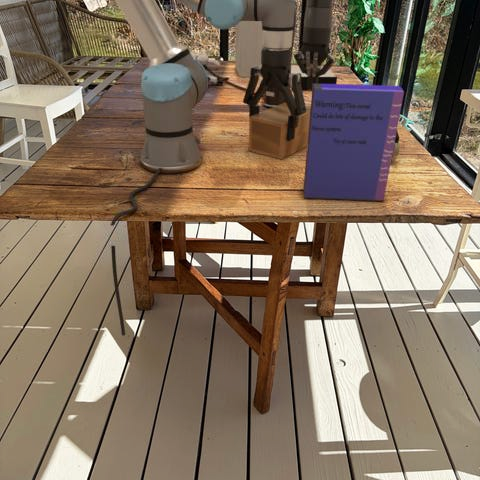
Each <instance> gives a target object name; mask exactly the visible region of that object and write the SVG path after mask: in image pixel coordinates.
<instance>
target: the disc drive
mask: <svg viewBox="0 0 480 480" xmlns="http://www.w3.org/2000/svg"><path fill="white" fill-rule="evenodd" d="M323 66H324V65H322V67H323ZM322 67H321V69H322ZM291 73H294V74H298V73H300V74H301V86H302V91H303V90H305V91H309V90H308V88H307V79H308V76H307V75H306V74H305V73H302V72H301V70H300V68H299V66H298V65H292V66H291ZM337 82H338V76H336V75H335V74H334V73H333V72H332V71H331V69H329V70H328V71H327V72H326V73H325V74H324V75H321V76H319V80H318V84H338V83H337ZM290 88H291V91H293V89H292V82H290Z"/></svg>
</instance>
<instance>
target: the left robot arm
mask: <svg viewBox="0 0 480 480" xmlns="http://www.w3.org/2000/svg"><path fill="white" fill-rule="evenodd" d="M114 1H115V2H116V4H117V6H118V7H119V9H120V11H121V13H122V14H123V16H124V18H125V20H126V22H127V23H128V25H129V27H130V28H131V31H132V32H133V34H134V36H135V37H136V39H137V40H138V42H139V44H140V45H141V47H142V50H143V51H144V52H145V54H146V56H147V58H148V59H149V66H148V67H147V68H146V69H145V70H143V72H142V74H141V77H140V78H141V79H140V80H141V83H140V91H141V95H142V97H141V98H142V106H143V116H144V125H145V126H144V127H145V138H144V142H143V146H142V150H141V154H140V162H141V166H142V168H144V169H145V170H146V171H149V172H151V173H153V175H152V177H151V179H150V180H149V181H148V182H147V183H146V184H145V185H143V186H140V187H138V188H136V189H134V190H133V191H132V192H130V193H129V195H128V196H129V197H128V198H129V201H130V203H131V204H132V205H133V207H132V208H130V209H127V210H122V211H120V212H117V213H116V215H115V216H114V217H113V218H112V220H111V222H110V226H111V227H113V226H115V225H116V222H117V221H118V219H119V218H121V217H122V216H125V215H128V214H133V213H134V212H135V211H136V210H137V208H138V203H137V202H136V200H135V199H134V196H135V195H136V194H138V193H140V192H142V191H144V190H146V189H148V188H149V187H150V186H151V185H152V184H153V183H154V181H155V180H156V178H157V177H158V175H159V174H163V175H164V174H165V175H169V174H170V175H172V174H173V175H175V174H182V173H187V172H190V171H193V170H195V169H197V168H198V167H199V166H201V163H202V154H201V151H200V149H199V146H198V145H201V140H200V139H199V138H197V137H196V136H195V135H194V130H193V129H194V126H193V109H194V108H195V107H196V106H197V105H198V104H199V103H200V102H201V101H202V100H203V99H204V97H205V96H206V94H207V91H208V88H209V83H208V76H209V75H208V73H207V71H206V68H205V66H204V65H203V66H202V65H201V64H200V63H199V62H198V61H196V60H194V59H193V57H192V55H191V53H190V52H191V51H190V50H189V48H188V47H187V46H186V45H182V44H179V42H178V40H177V38H176V36H175V34H174V32H173V30H172V29H171V27H170V25H169V23H168V21H167V20H166V18H165V16H164V15H163V12H162V10H161V8H160V7H159V5H158V3H157V2H156V0H114ZM175 1H176V2H178V3H179V4H181V5H183V6H185V7H187V8H188V9H190V10H192V11H194V12H195V13H198V14H199V15H200V16H202V17H204V19H205V18H206V20H207V21H208V23H209V24H210V26H212V27H213V28H215V29H217V30H229V29H232V28H234V27H236V25H237V24H238V23H239V22H240V21H262V43H261V46H262V47H264V48H263V49H262V50H261V64H262V67H261V68H259V67H258V66H257V67H253V68H251V72H250V77H249V80H248V83H247V86H246V89H247V90H245V93H244V96H243V98H242V103H243V105H245V104H246V105H247V106H248V107H249V108H248V109H249V110H248V118H249V119H250V116H253V115H255V114H258V113H260V105H259V103H260V100H261V99H262V98H261V97H262V96H263V94H264V93H265V91H266V89H267V88H268V87H274V88H279V90H280V92H282V95H283V97H284V99H285V101H286V104H287V106H288V108H289V111H290V113H291V115H289V116H288V129H287V141H290V140H292V139H294V137H295V128H297V127H298V120H299V115H302V114H304V113H306V106H305V105H306V101H305V96H304V91H303V90H302V86H301V74H300V73H298V74H294V73H291V71H290V65H291V56H292V57H293V51H291V49H289V48H291V47H292V38H293V24H294V11H295V7H296V0H175ZM260 74H261V75H260ZM207 75H208V76H207ZM260 76H261V77H262V79H261V82H260V83H259V79H260ZM289 78H290V79H291V80H290V82H292V87H291V84H289V82H288V80H289ZM258 83H259V85H258ZM257 86H258V88H257ZM284 86H285V87H284ZM256 88H257V89H256ZM292 89H293V90H292ZM254 93H255V94H254ZM110 247H111V248H110V251H111V266H112V277H113V286H114V293H115V297H116V298H115V299H116V304H117V305H116V306H117V311H118V318H119V324H120V332H121V336H123V337H124V336H126V329H125V322H124V314H123V308H122V302H121V295H120V288H119V280H118V270H117V257H116V245H110Z"/></svg>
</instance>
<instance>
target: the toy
mask: <svg viewBox="0 0 480 480" xmlns="http://www.w3.org/2000/svg"><path fill="white" fill-rule="evenodd" d="M190 53H191V55H192V57H193V59H194V60H196V61H198V62H199V63H200V64H201V65H202V66H203V67H204V65H206V66H207V65H209V64H214V65H215V67H216V66H217V67H218V68H219V67H220V66H221V63H220V62H219V60H216V59H215V58H209V56H208V55H207V54H204V53H203V52H202V51H199V52H198V53H195V52H192V51H190Z"/></svg>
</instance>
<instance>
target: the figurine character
mask: <svg viewBox="0 0 480 480" xmlns="http://www.w3.org/2000/svg"><path fill="white" fill-rule="evenodd" d="M399 141H400V135H399V131H397V132H396V137H395V142H394V148H393V153H392V157H398V155H399V153H400V152H399V151H400V142H399Z"/></svg>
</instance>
